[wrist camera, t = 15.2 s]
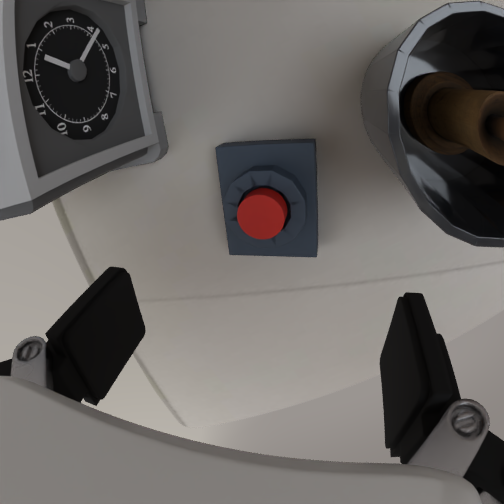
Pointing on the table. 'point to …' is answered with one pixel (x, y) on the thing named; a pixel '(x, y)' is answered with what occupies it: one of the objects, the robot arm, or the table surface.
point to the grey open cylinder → (417, 155)
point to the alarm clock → (71, 98)
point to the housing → (280, 180)
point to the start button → (262, 213)
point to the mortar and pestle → (455, 116)
